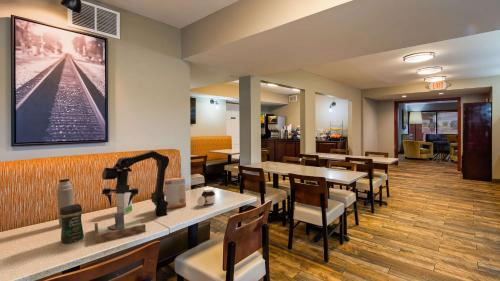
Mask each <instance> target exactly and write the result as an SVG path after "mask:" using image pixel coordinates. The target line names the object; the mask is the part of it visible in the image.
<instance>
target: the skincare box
mask: <svg viewBox="0 0 500 281" xmlns="http://www.w3.org/2000/svg"><path fill="white" fill-rule="evenodd" d="M130 194H131V193H125V194H116V193H115V197H116V198H115V200H116V201H115V202H116V214H117V213H120V212H124V215H127V214H129V213H130V212H131V213H132V212H133V199H132V200H131V202H130V204H129V206H128V202H129V198H130Z"/></svg>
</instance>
